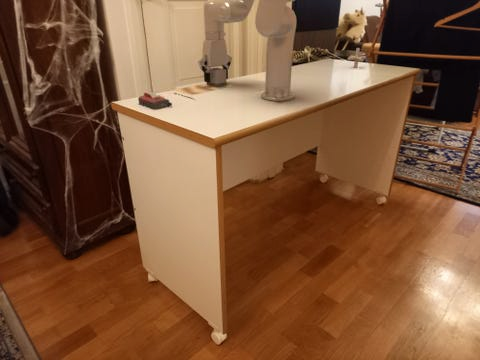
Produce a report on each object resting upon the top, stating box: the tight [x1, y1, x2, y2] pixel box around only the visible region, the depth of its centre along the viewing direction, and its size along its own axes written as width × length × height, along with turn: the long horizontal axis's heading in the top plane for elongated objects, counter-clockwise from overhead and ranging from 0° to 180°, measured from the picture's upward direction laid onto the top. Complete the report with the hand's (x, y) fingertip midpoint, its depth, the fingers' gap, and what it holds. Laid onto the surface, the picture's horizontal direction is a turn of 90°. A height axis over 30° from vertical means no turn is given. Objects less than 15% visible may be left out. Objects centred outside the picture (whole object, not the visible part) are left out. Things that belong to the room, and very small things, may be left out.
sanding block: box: [206, 67, 228, 88], centre depth 146 cm, size 5×7×6 cm
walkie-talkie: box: [137, 91, 173, 111], centre depth 128 cm, size 9×4×20 cm
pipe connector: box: [347, 47, 367, 69], centre depth 187 cm, size 10×10×10 cm
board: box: [173, 82, 234, 100], centre depth 144 cm, size 22×12×2 cm, turn 134°
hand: (216, 80), depth 147 cm, fingers open, 9 cm apart
